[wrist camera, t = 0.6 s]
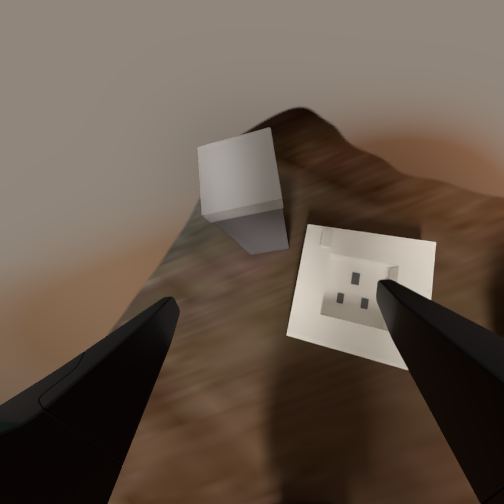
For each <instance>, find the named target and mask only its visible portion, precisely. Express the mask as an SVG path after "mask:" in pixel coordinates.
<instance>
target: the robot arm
mask: <svg viewBox="0 0 504 504" xmlns="http://www.w3.org/2000/svg"><path fill="white" fill-rule="evenodd" d="M376 301H377V303H378V306H379V308H380V311H381V313H382V316H383V318H384V321H385V323H386V326H387V328H388V331H389V333H390V336H391V338H392V340H393V342H394V344H395V346H396V348H397V349H398V351H399V353H400V355H401V357H402V359H403V361H404V362H405V364H406V366H407V368H408V370H409V372H410V374H411V375H412V377H413V379H414V381H415V383H416V385H417V387H418V388H419V390H420V392H421V394H422V396H423V398H424V400H425V401H426V403H427V405H428V407H429V409H430V411H431V413H432V414H433V416H434V418H435V420H436V422H437V424H438V426H439V427H440V429H441V431H442V433H443V435H444V437H445V439H446V440H447V442H448V444H449V446H450V448H451V450H452V452H453V453H454V455H455V457H456V459H457V461H458V463H459V465H460V466H461V468H462V470H463V472H464V474H465V476H466V477H467V479H468V481H469V483H470V485H471V487H472V489H473V490H474V492H475V494H476V496H477V498H478V500H479V502H480V503H481V504H504V338H503V337H501V336H499V335H497V334H495V333H493V332H492V331H490V330H488V329H486V328H484V327H482V326H480V325H478V324H476V323H474V322H472V321H470V320H468V319H466V318H465V317H463V316H461V315H459V314H457V313H455V312H453V311H451V310H449V309H447V308H445V307H443V306H441V305H440V304H438V303H436V302H434V301H432V300H430V299H428V298H426V297H424V296H422V295H420V294H418V293H416V292H414V291H413V290H411V289H409V288H407V287H405V286H403V285H401V284H399V283H397V282H395V281H393V280H391V279H383V280H379V281H378V283H377V290H376ZM179 313H180V310H179V307H178V305H177V303H176V301H175V299H174V298H173V297H164V298H162V299H161V300H159V301H158V302H156V303H155V304H153V305H152V306H150V307H149V308H147V309H146V310H144V311H143V312H142V313H140V314H139V315H137V316H136V317H134V318H133V319H131V320H130V321H128V322H127V323H125V324H124V325H122V326H121V327H120V328H118V329H117V330H115V331H114V332H112V333H111V334H109V335H108V336H106V337H105V338H103V339H102V340H100V341H99V342H97V343H96V344H95V345H93V346H92V347H90V348H89V349H87V350H86V351H85V352H83V353H81V354H80V355H78V356H77V357H75V358H74V359H73V360H71V361H69V362H68V363H66V364H65V365H64V366H62V367H60V368H59V369H57V370H56V371H54V372H53V373H51V374H50V375H48V376H46V377H45V378H43V379H42V380H40V381H38V382H37V383H35V384H34V385H32V386H30V387H29V388H27V389H26V390H24V391H22V392H21V393H19V394H18V395H16V396H14V397H13V398H11V399H10V400H8V401H6V402H5V403H3V404H2V405H0V504H108V501H109V499H110V496H111V494H112V491H113V489H114V486H115V484H116V481H117V478H118V476H119V473H120V471H121V468H122V465H123V463H124V460H125V458H126V455H127V453H128V450H129V448H130V445H131V443H132V440H133V438H134V435H135V433H136V430H137V428H138V425H139V423H140V420H141V418H142V415H143V413H144V410H145V408H146V405H147V403H148V400H149V397H150V395H151V392H152V390H153V387H154V385H155V382H156V380H157V377H158V375H159V372H160V370H161V367H162V365H163V362H164V360H165V357H166V355H167V352H168V350H169V347H170V344H171V341H172V338H173V335H174V331H175V328H176V324H177V321H178V317H179Z"/></svg>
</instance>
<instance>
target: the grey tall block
mask: <svg viewBox="0 0 504 504" xmlns="http://www.w3.org/2000/svg"><path fill="white" fill-rule="evenodd" d="M198 160H199V176H200V193H201V209H202V216H203V217H205V218H206V219H207V220H208V221H209V222H214V223H215V224H216V225H217V226H219V227H220V228H221V229H222V230H223V231H224V232H225V233H227V234H228V235H229V236H230V237H231V238H232V239H233V240H235V241H236V242H237V243H238V244H239V245H240V246H241V247H243V248H244V249H245V250H246V251H247V252H248V253H250V254H251V255H252V254H259V253H265V252H271V251H277V250H283V249H289V246H288V239H287V233H286V227H285V221H284V215H283V209H282V208H284V207H283V200H282V194H281V188H280V182H279V176H278V170H277V164H276V158H275V152H274V146H273V140H272V134H271V128H270V127H269V128H265V129H262V130H258V131H254V132H251V133H247V134H244V135H240V136H236V137H233V138H229V139H226V140H222V141H218V142H215V143H211V144H208V145H204V146H200V147H198Z"/></svg>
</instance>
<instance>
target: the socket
mask: <svg viewBox="0 0 504 504" xmlns="http://www.w3.org/2000/svg"><path fill="white" fill-rule="evenodd" d="M435 248H436V242H431V241H424V240H416V239H409V238H402V237H395V236H388V235H381V234H374V233H367V232H360V231H353V230H346V229H339V228H332V227H325V226H318V225H311V224H308V226H307V231H306V236H305V241H304V246H303V252H302V257H301V262H300V267H299V273H298V278H297V283H296V288H295V293H294V299H293V304H292V309H291V314H290V319H289V325H288V330H287V336H290V337H294V338H297V339H301V340H304V341H308V342H311V343H315V344H318V345H322V346H325V347H329V348H332V349H335V350H339V351H342V352H346V353H349V354H353V355H356V356H360V357H363V358H367V359H370V360H374V361H377V362H381V363H384V364H388V365H391V366H395V367H398V368H402V369H405V370H408V368H407V366H406V364H405V362H404V361H403V359H402V357H401V355H400V353H399V351H398V349H397V348H396V346H395V344H394V342H393V340H392V338H391V336H390V333H389V331H388V328H387V326H386V323H385V321H384V318H383V316H382V313H381V311H380V308H379V306H378V303H377V301H376V290H377V283H378V281H379V280H383V279H391V280H393V281H395V282H397V283H399V284H401V285H403V286H405V287H407V288H409V289H411V290H413V291H414V292H416V293H418V294H420V295H422V296H424V297H426V298H428V299H430V300H431V295H432V284H433V272H434V260H435Z"/></svg>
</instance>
